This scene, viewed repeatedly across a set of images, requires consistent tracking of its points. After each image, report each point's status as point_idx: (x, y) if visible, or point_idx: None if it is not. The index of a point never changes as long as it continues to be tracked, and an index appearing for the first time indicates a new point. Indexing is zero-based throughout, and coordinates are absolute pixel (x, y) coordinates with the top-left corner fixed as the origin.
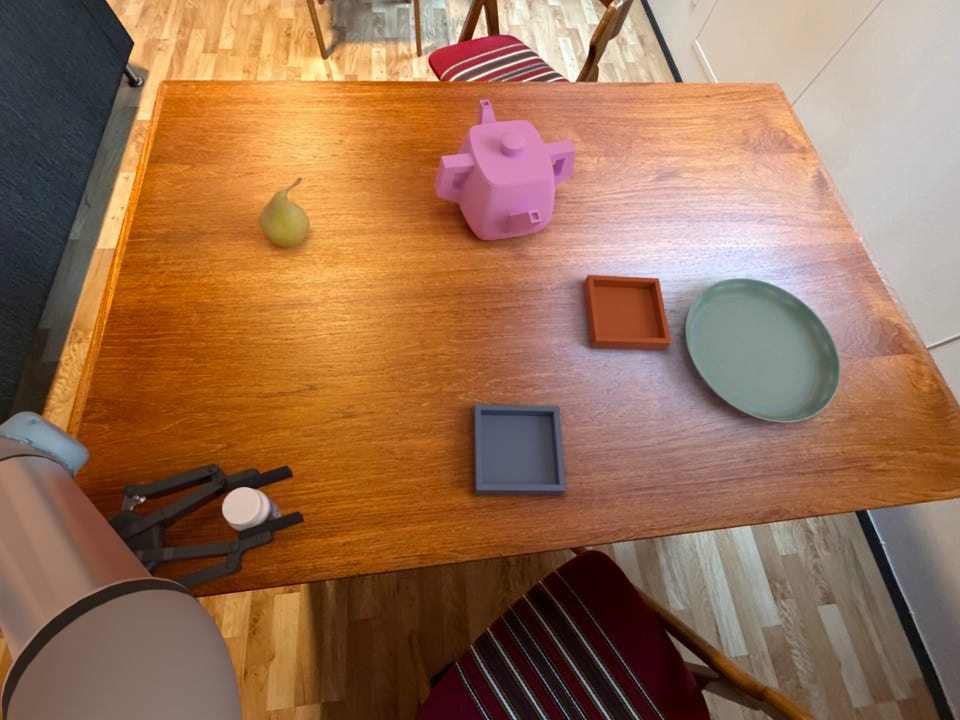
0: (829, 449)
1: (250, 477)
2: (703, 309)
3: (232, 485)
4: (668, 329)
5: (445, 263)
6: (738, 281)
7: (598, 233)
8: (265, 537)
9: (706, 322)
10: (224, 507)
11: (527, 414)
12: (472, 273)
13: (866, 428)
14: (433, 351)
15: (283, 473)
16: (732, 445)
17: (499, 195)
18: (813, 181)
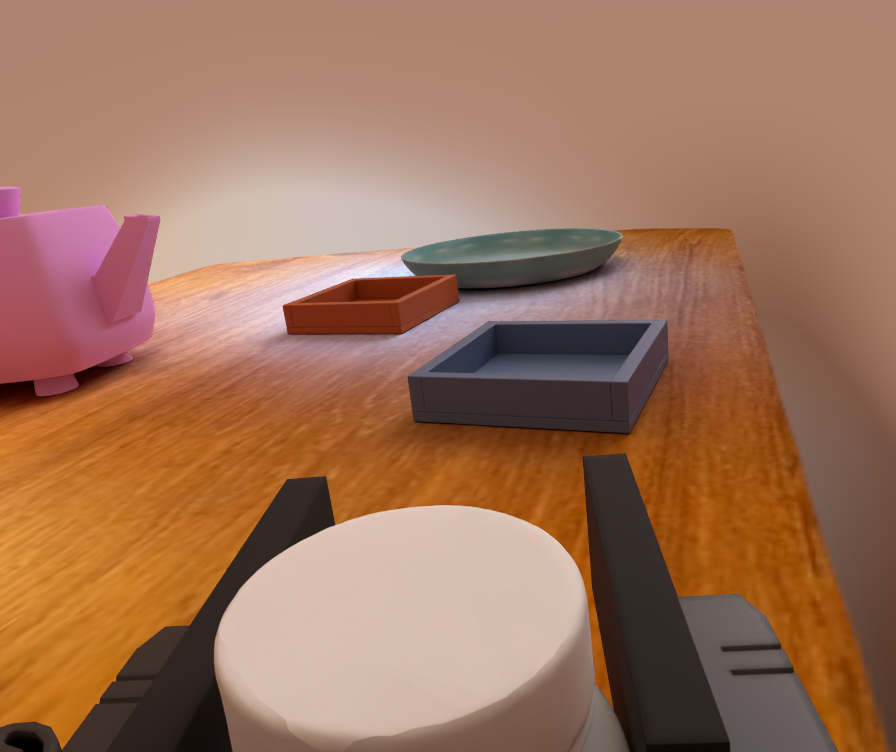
0: (663, 253)
1: (204, 612)
2: None
3: (151, 722)
4: (434, 275)
5: (45, 426)
6: (412, 253)
7: (226, 324)
8: (729, 619)
9: None
10: (330, 708)
11: (477, 360)
12: (117, 404)
13: (644, 244)
14: (213, 453)
15: (320, 502)
16: (633, 280)
17: (51, 236)
18: (338, 255)
